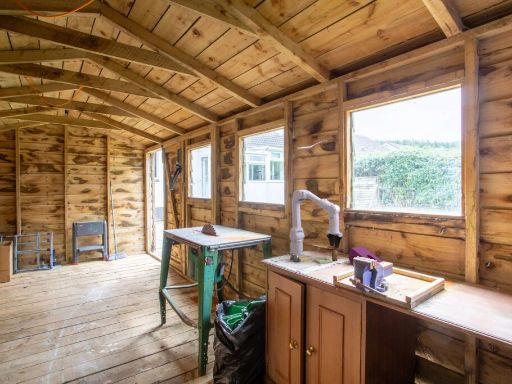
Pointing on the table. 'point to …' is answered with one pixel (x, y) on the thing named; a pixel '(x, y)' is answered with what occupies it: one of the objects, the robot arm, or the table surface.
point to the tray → (323, 260)
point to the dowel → (334, 255)
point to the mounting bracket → (361, 254)
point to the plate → (305, 258)
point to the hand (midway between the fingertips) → (334, 246)
